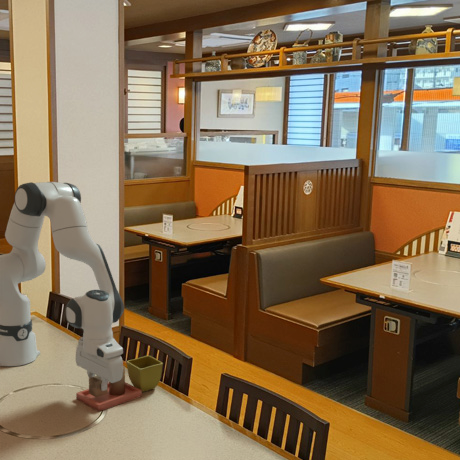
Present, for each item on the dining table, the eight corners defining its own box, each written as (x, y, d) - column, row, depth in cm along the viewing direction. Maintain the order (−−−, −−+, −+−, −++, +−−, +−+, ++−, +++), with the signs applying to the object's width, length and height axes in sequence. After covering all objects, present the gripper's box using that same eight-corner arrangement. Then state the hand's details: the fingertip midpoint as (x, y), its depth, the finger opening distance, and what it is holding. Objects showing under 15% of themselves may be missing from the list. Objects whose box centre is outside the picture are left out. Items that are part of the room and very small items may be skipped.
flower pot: (139, 396, 193) (140, 369, 192) (125, 386, 200) (125, 360, 198) (163, 389, 199) (163, 363, 197) (148, 380, 205) (149, 355, 204)
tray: (76, 398, 190) (76, 392, 190) (118, 384, 201) (118, 378, 201) (98, 411, 182) (98, 405, 181) (141, 396, 193) (141, 390, 193)
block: (88, 393, 188) (88, 378, 187) (99, 389, 191) (99, 374, 190) (96, 397, 186) (96, 382, 185) (107, 393, 188) (107, 378, 188)
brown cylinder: (105, 392, 193) (105, 368, 192) (118, 387, 197) (118, 364, 196) (115, 397, 190) (115, 372, 189) (128, 392, 194) (128, 368, 192)
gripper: (70, 337, 191) (70, 379, 193) (108, 355, 177) (108, 400, 179) (87, 333, 195) (87, 374, 197) (126, 350, 181) (126, 394, 183)
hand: (98, 387), depth 188 cm, fingers closed on block, 4 cm apart
